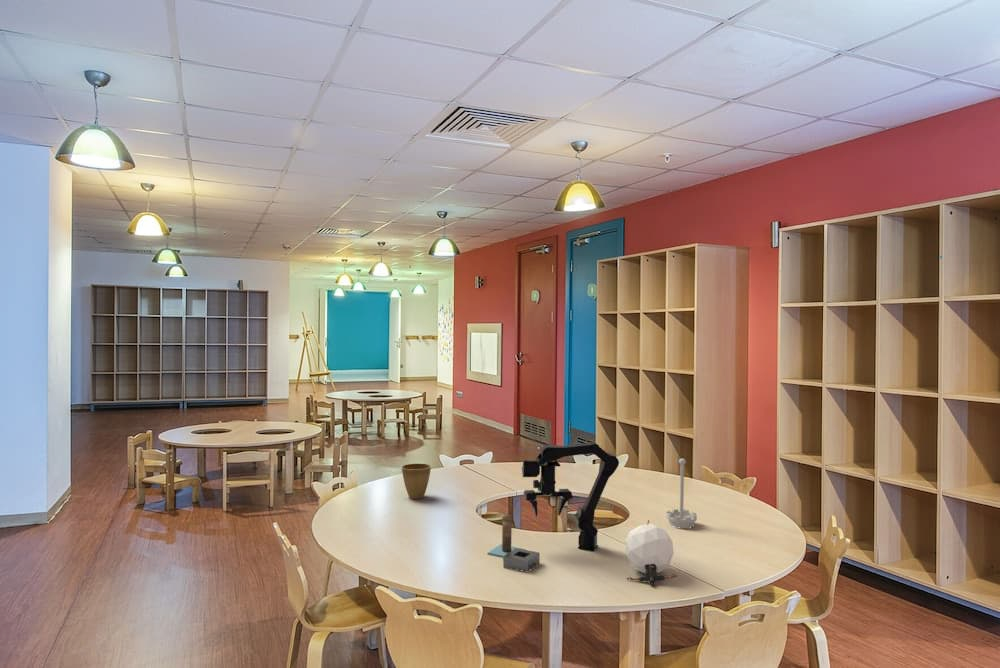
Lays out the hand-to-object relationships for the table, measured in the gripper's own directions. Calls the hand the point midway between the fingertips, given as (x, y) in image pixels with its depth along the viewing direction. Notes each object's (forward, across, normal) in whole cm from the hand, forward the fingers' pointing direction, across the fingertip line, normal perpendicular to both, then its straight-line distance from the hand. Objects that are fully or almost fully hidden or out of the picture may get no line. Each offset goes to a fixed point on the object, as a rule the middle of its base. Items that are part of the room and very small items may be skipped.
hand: (547, 516), depth 257 cm
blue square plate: (+13, +17, +2) cm, 21 cm away
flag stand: (+13, -68, -20) cm, 72 cm away
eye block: (+13, +14, +16) cm, 25 cm away
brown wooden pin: (+12, +17, +2) cm, 21 cm away
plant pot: (+13, +47, -83) cm, 97 cm away
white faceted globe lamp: (+13, -30, +32) cm, 45 cm away
